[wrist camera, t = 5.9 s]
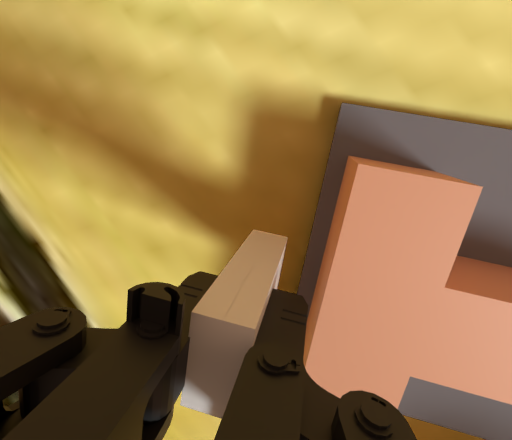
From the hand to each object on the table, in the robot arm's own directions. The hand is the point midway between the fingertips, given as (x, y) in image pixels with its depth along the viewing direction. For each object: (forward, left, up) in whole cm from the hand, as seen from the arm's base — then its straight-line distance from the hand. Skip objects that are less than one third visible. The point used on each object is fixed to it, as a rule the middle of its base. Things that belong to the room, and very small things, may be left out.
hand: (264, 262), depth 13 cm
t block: (+8, 0, -2) cm, 8 cm away
